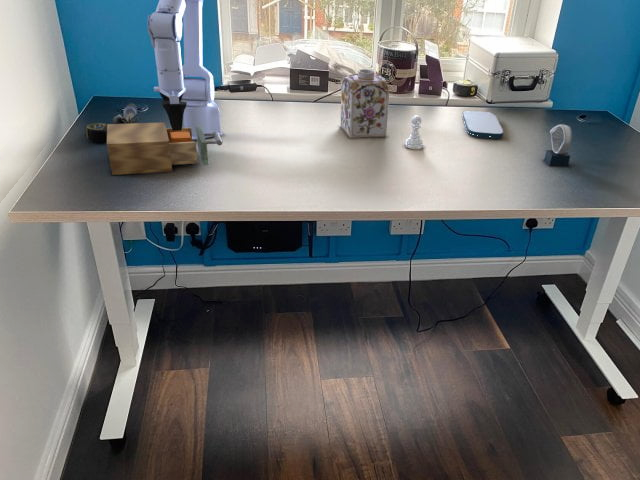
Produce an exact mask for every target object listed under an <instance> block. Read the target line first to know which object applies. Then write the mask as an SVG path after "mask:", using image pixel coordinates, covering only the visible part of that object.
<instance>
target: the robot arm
mask: <svg viewBox="0 0 640 480" xmlns="http://www.w3.org/2000/svg"><path fill="white" fill-rule="evenodd" d="M203 3H204V0H158V3H157V6H156V9H155V11H154V12H152V13H151V14H148V17H147V31H148V35H149V38H150V42H151V47H152V48H153V49H154V56H155V65H156V74H157V81H158V86H154V87H153V91H154V92H158V93H159V95H160V97H161V99H162V100H161V105H162V108H163V109H164V111H165V112H166V114H167V117H168V121H169V124H170V128H172V130H173V131H181V130H182V128H186V127H191V132H192V141H197V134H196V125H200V126H201V128H202V131H203V134H204V133H213V132H215V131H217V132H218V133H219V136H222V135H223V132H222V129H221V114H220V113H221V112H220V109H219V106H218V104H217V103H216V101H214V99H215V84H214V76H213V74H212V73H211V72H210V71H209V69H207V68H206V67H204V65H203ZM182 37H183V63H182V53H181V43H180V42H181V40H182ZM183 126H184V127H183ZM204 137H205V139H208V138H214V135H213V136H204Z"/></svg>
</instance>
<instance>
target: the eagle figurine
mask: <svg viewBox="0 0 640 480" xmlns="http://www.w3.org/2000/svg"><path fill="white" fill-rule="evenodd" d="M122 112H123V113H122V115H121V114H118V115H116V116H114V117H113V119H112V124H132V123H137V122H138V120H139V117H136V118H135V119H134V120H132V118H134V117H135V116H136V115H137V114H138V107H137V106H136V104H135V103H128V104H127V105H126V106H125V107H124V108H123V111H122Z"/></svg>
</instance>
